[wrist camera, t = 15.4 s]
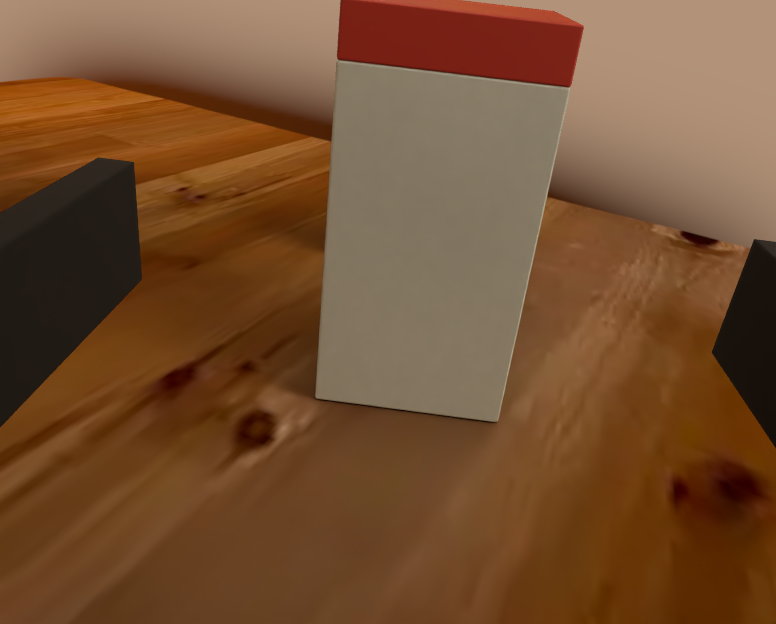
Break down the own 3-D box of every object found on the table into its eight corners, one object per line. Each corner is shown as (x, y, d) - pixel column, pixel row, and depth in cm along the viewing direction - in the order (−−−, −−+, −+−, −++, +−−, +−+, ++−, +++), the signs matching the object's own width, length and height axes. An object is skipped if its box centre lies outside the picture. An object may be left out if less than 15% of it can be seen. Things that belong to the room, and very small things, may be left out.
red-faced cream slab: (481, 436, 28) (566, 361, 15) (323, 415, 28) (279, 324, 16) (506, 154, 32) (590, -87, 19) (367, 137, 32) (360, -113, 19)
